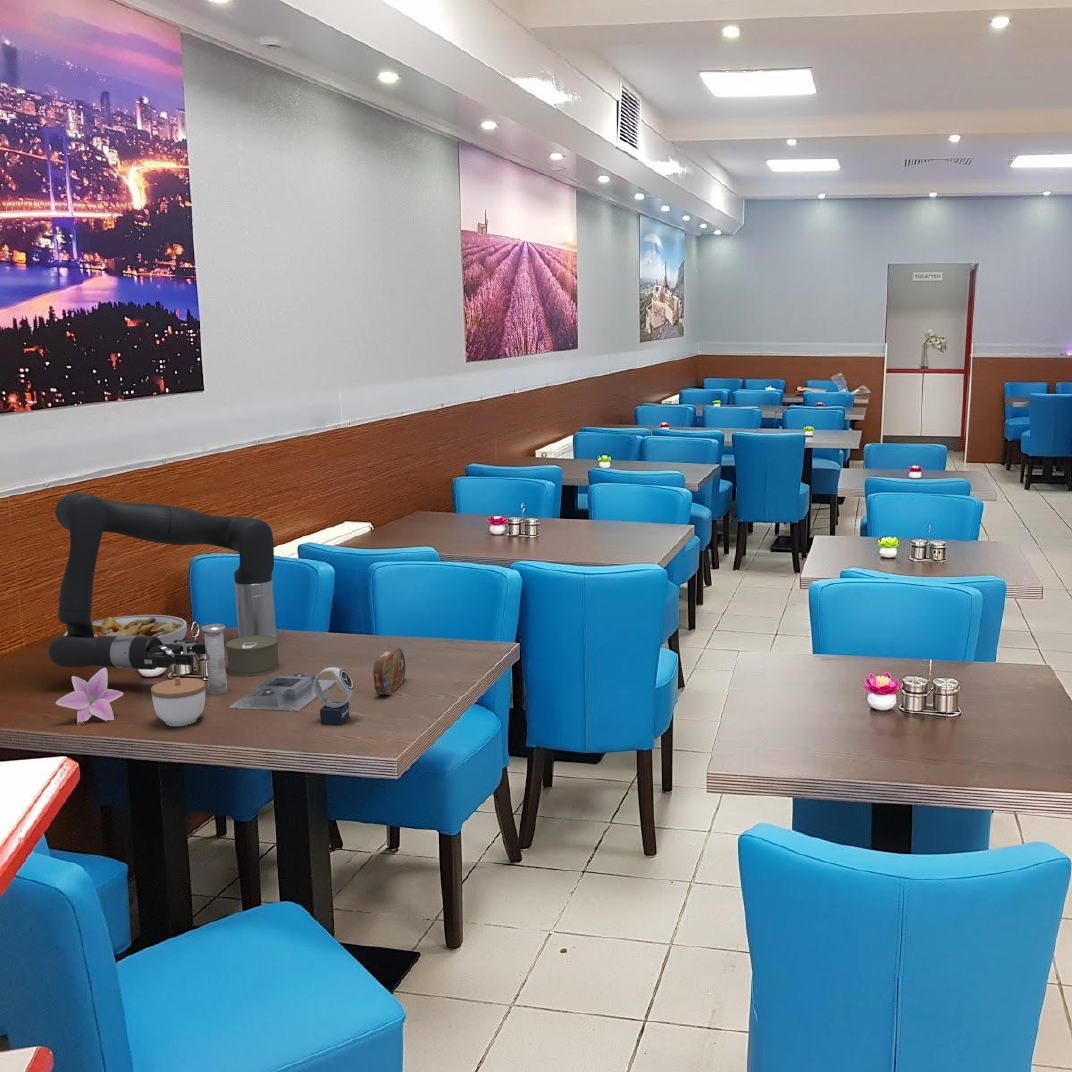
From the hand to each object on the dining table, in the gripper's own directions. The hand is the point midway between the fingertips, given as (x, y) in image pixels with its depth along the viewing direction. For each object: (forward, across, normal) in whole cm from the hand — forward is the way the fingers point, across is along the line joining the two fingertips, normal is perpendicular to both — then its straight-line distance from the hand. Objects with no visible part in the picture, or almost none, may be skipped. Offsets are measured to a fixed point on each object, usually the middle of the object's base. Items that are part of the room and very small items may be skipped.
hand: (202, 654), depth 261 cm
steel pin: (+3, 0, +8) cm, 9 cm away
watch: (+37, -15, +9) cm, 41 cm away
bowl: (-40, +34, +9) cm, 53 cm away
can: (+3, +18, +9) cm, 20 cm away
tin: (+41, +7, +9) cm, 43 cm away
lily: (-14, -21, +9) cm, 27 cm away
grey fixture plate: (+19, 0, +8) cm, 21 cm away
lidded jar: (+5, -20, +9) cm, 22 cm away
